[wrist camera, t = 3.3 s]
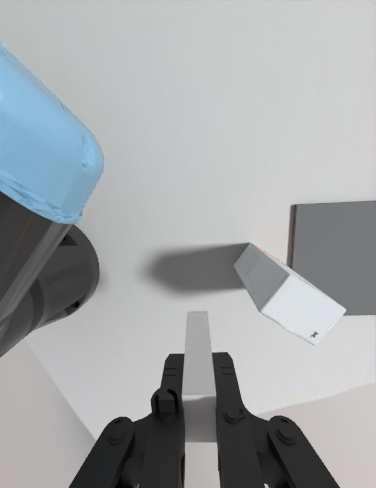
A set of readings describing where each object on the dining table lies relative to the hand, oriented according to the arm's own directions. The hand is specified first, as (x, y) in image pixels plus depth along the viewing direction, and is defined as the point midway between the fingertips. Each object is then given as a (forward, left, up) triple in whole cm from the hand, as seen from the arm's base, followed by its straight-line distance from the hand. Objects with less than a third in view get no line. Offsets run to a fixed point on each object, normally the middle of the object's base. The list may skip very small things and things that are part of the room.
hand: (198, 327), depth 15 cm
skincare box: (+9, 0, -14) cm, 16 cm away
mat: (+21, 0, -13) cm, 25 cm away
